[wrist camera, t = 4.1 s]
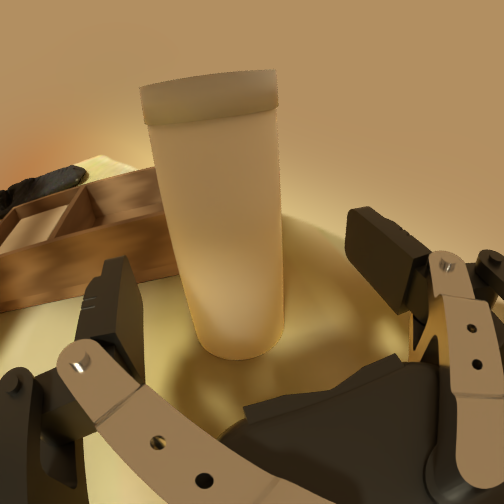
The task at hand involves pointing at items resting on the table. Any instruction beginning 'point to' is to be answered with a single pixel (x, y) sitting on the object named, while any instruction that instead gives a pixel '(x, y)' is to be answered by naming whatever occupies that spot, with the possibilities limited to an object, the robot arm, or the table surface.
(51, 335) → the table surface
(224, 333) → the sugar shaker
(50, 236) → the caddy
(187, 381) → the table surface
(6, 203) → the dark slate chunk
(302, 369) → the table surface
